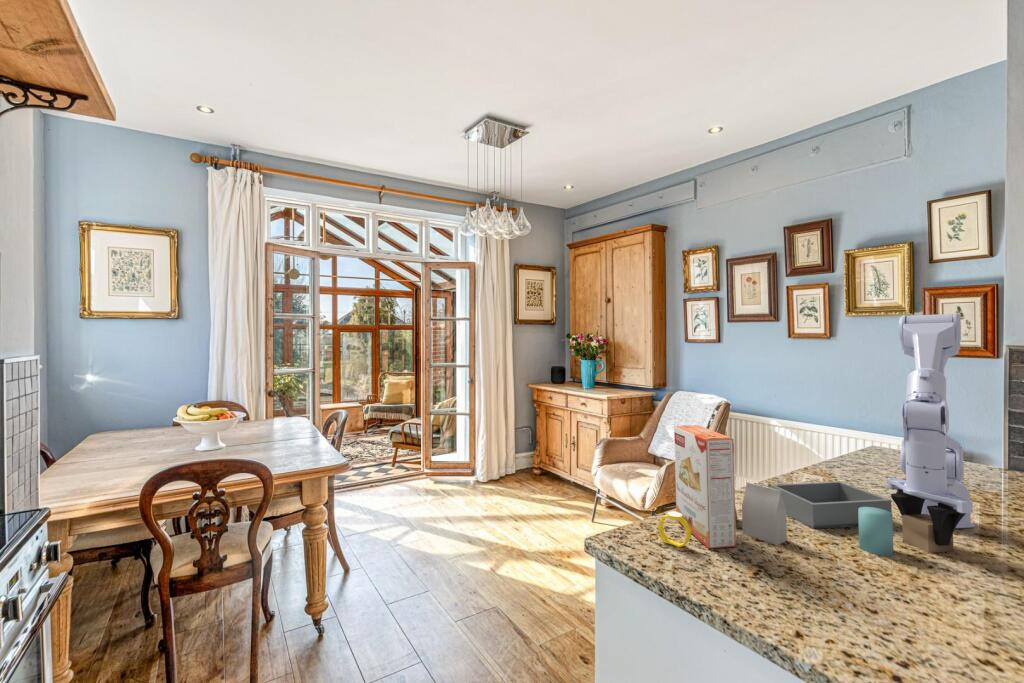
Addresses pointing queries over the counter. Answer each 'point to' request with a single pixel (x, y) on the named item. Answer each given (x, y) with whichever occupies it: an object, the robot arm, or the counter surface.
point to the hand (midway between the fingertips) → (927, 538)
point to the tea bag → (764, 514)
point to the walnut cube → (922, 533)
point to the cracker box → (706, 484)
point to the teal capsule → (875, 530)
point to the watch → (679, 517)
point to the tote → (828, 503)
